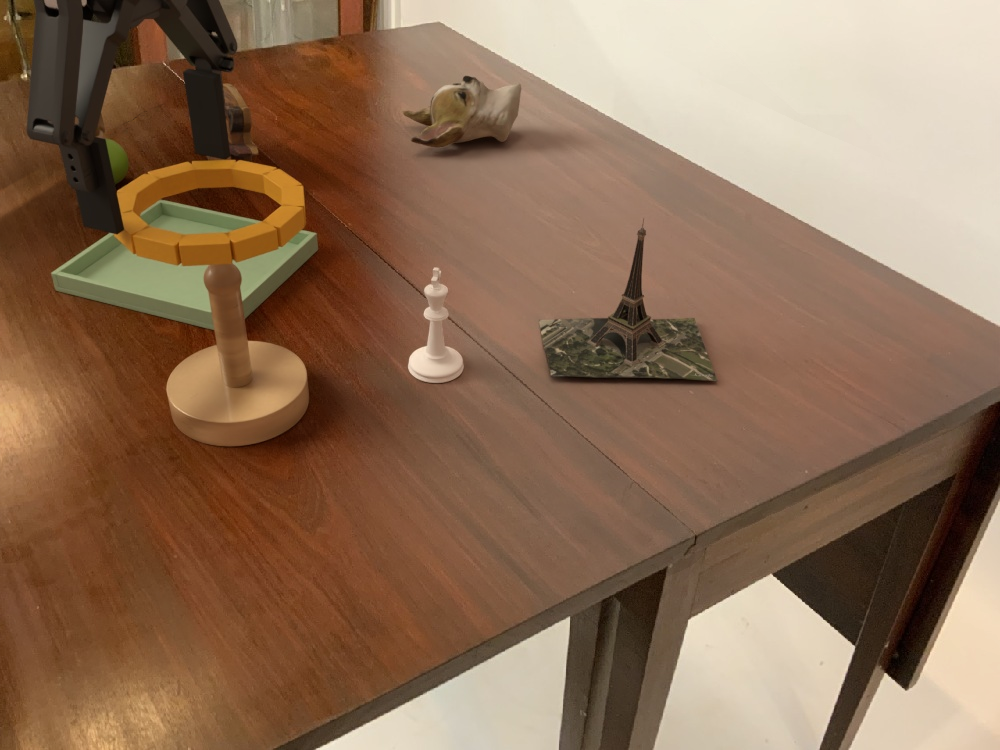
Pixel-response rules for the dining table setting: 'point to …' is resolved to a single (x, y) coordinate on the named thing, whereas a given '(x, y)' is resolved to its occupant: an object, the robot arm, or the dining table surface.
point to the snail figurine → (114, 154)
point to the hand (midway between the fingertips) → (162, 189)
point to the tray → (177, 268)
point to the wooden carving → (237, 126)
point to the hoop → (210, 245)
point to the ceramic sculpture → (467, 113)
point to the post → (236, 377)
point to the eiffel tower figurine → (627, 340)
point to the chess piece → (435, 341)
